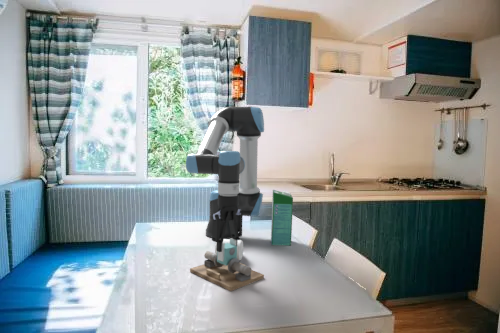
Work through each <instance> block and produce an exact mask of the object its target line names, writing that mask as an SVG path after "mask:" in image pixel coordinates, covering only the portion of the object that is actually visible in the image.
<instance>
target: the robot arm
mask: <svg viewBox="0 0 500 333" xmlns="http://www.w3.org/2000/svg"><path fill="white" fill-rule="evenodd" d="M264 120H265V119H264V114H263V109H261V108H260V107H258V106H257V107H256V106H227V107H224V108H221V109H219V110H217V111H216V112H215V113H214V114H213V115H212V116H211V118H209V121H208V124H207V127H208V128H207V130H206V133H205V134H204V137H203V139H202V140H201V143H200V145H199V147H198V149H197V151H196V153H189V154H187V156H186V158H185V168H186V171H187V172H188V173H190V174H197V175H198V174H204V175H218V183H217V189H216V190H212V191H211V192H210V195H209V220H208V222H207V226H206V229H205V236H206V237H208V238H211V241H212V242H217V251H218V260H220V261H224V248H225V243H223V239H230V244H233V245H236V246H237V240H241V237H242V236H243V216H244V217H258V216H259V215H260V213H261V209H262V203H263V198H264V197H263V195H264V193H262V192H261V189H260V188H259V186H258V143H259V142H258V141H259V139H260V137H261V136H262V133H264V132H265V121H264ZM228 132H236V137H238V138H239V151H237V150H221V151H220V152H219V154H218V151H219V148H220V146H221V143H222V140H223V138H224V135H226V134H227V133H228Z"/></svg>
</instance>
